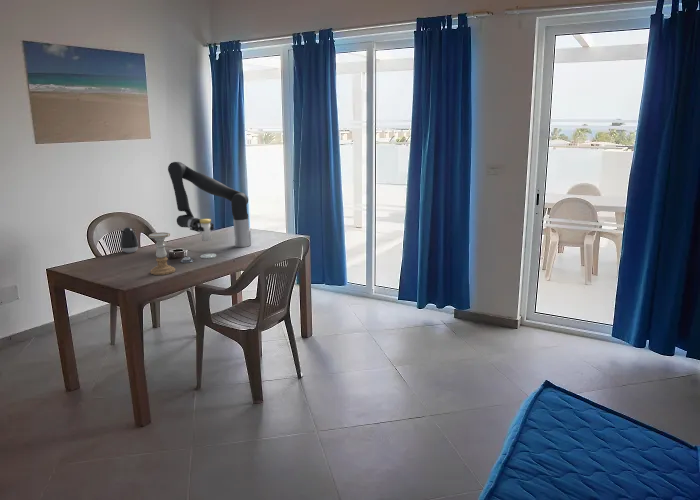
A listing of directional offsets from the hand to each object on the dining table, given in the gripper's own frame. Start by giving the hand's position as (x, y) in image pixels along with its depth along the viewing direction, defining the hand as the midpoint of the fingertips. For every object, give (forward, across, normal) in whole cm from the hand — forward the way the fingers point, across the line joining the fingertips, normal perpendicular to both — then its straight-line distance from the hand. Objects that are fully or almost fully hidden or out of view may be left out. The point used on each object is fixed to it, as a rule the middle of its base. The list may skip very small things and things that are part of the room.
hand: (207, 228), depth 303 cm
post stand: (+1, -14, +17) cm, 22 cm away
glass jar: (-3, 0, +7) cm, 7 cm away
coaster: (-2, 0, +17) cm, 17 cm away
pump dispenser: (-44, -32, +18) cm, 57 cm away
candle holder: (+14, -32, +17) cm, 39 cm away
